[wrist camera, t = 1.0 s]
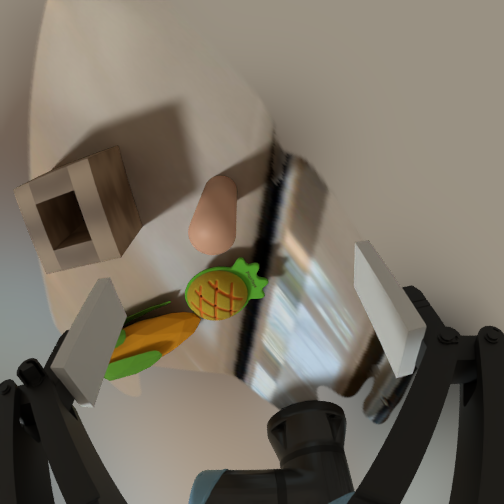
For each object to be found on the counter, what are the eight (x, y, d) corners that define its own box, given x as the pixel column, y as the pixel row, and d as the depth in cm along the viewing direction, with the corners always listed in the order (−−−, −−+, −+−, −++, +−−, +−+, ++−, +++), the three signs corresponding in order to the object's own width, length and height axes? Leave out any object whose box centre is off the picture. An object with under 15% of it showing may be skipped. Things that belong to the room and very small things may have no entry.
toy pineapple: (177, 274, 39) (169, 298, 35) (248, 238, 38) (250, 259, 33) (206, 313, 42) (203, 340, 37) (274, 282, 40) (279, 307, 36)
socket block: (142, 226, 36) (121, 257, 29) (75, 243, 37) (46, 274, 30) (118, 145, 32) (87, 158, 25) (50, 170, 32) (13, 189, 25)
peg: (240, 203, 36) (240, 250, 25) (208, 209, 36) (195, 258, 25) (233, 172, 34) (230, 206, 23) (200, 179, 34) (182, 216, 23)
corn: (66, 366, 36) (175, 316, 33) (82, 330, 43) (183, 276, 39) (103, 396, 40) (214, 357, 36) (113, 360, 47) (215, 315, 43)
